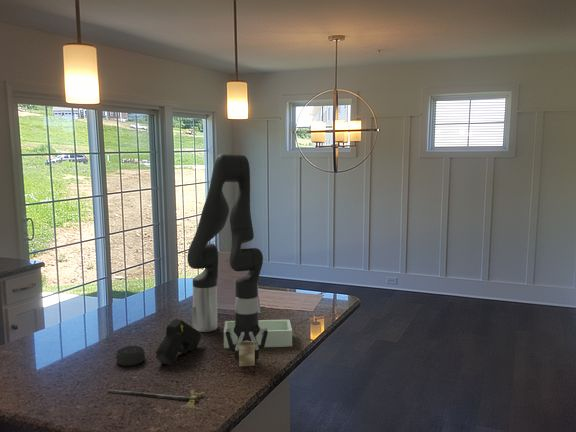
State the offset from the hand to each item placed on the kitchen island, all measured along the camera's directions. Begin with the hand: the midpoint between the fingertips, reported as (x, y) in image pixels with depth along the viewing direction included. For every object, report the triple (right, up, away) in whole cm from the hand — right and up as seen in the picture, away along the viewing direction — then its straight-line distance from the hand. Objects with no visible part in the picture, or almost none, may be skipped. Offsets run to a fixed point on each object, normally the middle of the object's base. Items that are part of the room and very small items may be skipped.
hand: (246, 359), depth 167 cm
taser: (-23, 0, +6) cm, 24 cm away
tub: (+2, +1, +19) cm, 19 cm away
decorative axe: (-23, -4, -22) cm, 32 cm away
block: (0, -1, 0) cm, 1 cm away
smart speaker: (-38, -1, +1) cm, 38 cm away
